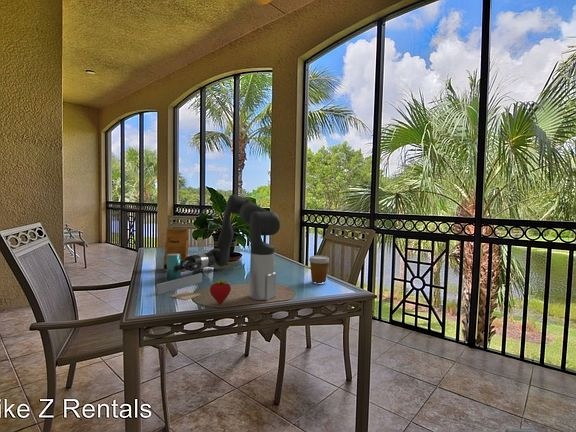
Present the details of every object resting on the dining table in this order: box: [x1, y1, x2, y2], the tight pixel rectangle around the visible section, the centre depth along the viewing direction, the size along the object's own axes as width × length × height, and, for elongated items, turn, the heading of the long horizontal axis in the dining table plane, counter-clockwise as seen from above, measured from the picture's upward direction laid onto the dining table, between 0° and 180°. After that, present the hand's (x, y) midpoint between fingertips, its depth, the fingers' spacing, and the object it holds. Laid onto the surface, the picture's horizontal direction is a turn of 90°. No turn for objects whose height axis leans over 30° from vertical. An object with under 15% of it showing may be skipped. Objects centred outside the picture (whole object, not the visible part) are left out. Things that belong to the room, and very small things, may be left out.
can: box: [166, 253, 182, 282], centre depth 147 cm, size 6×6×12 cm
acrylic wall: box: [155, 272, 203, 296], centre depth 137 cm, size 1×24×4 cm, turn 152°
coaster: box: [169, 290, 202, 301], centre depth 126 cm, size 8×8×1 cm
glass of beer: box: [308, 255, 330, 283], centre depth 151 cm, size 10×10×12 cm
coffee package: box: [163, 227, 189, 272], centre depth 170 cm, size 10×12×22 cm
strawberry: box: [209, 276, 232, 305], centre depth 117 cm, size 6×8×10 cm
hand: (169, 267), depth 145 cm, fingers closed on can, 6 cm apart
